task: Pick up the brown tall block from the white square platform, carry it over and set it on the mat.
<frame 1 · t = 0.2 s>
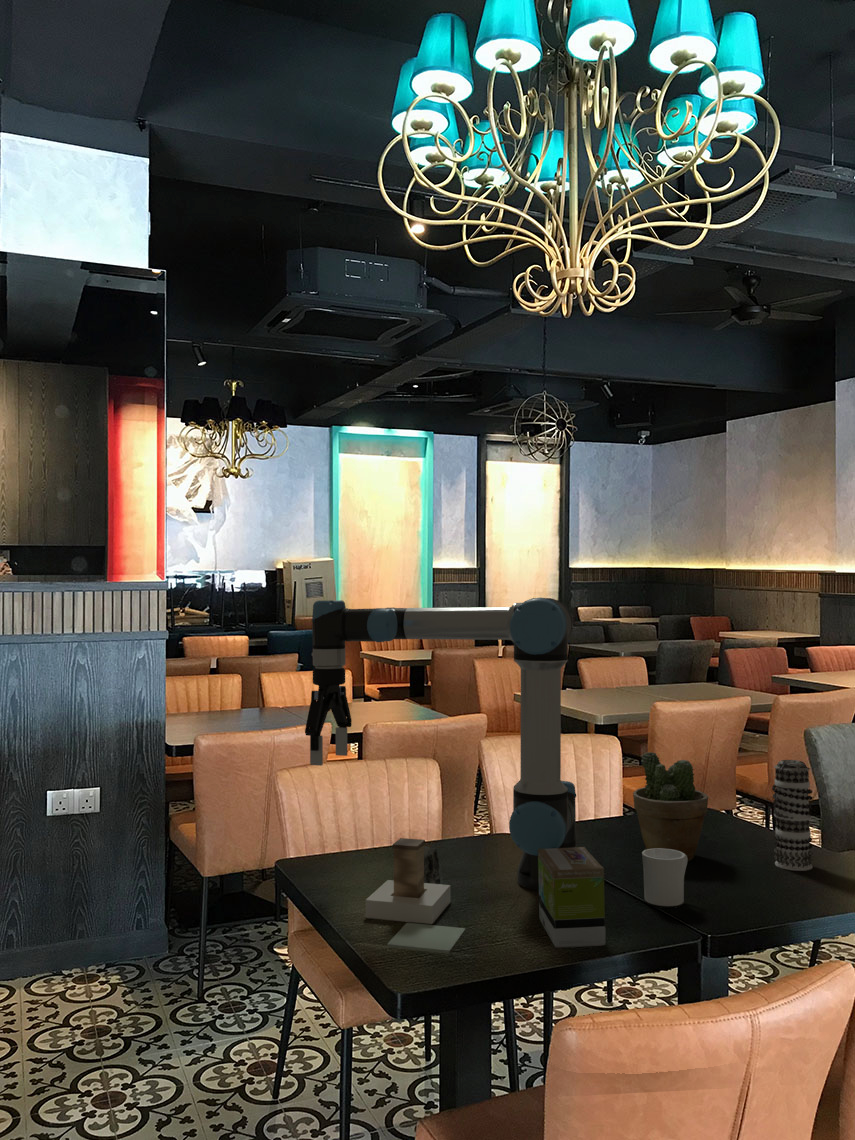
hand: (329, 760, 215), 28 cm above the table, fingers open, 13 cm apart
stone: (426, 887, 211), on the table
mat: (427, 939, 178), on the table
brown tall block: (409, 909, 194), resting on white square platform
mug: (667, 903, 199), on the table
potted plant: (671, 856, 235), on the table
decorative candle: (793, 866, 226), on the table
tea box: (570, 934, 181), on the table
white square platform: (409, 911, 194), on the table
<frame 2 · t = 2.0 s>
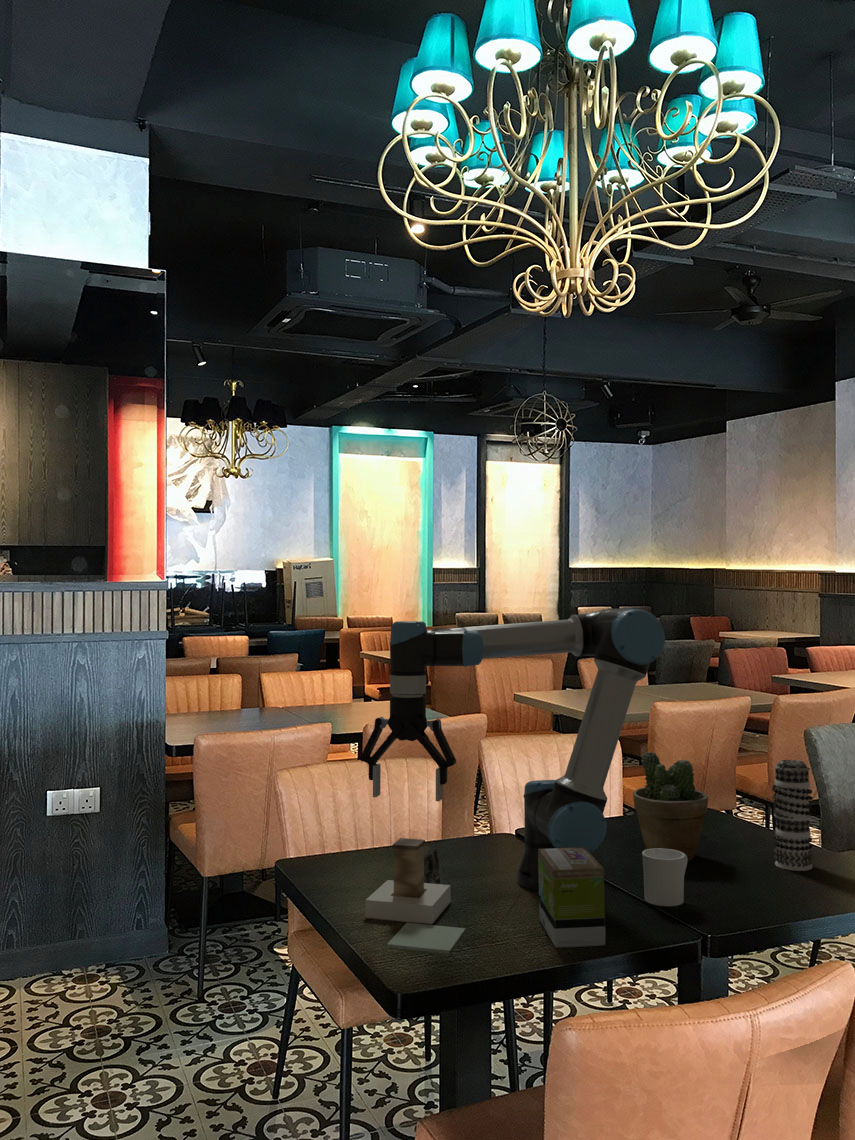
hand: (407, 798, 195), 23 cm above the table, fingers open, 13 cm apart
nothing on the table moved.
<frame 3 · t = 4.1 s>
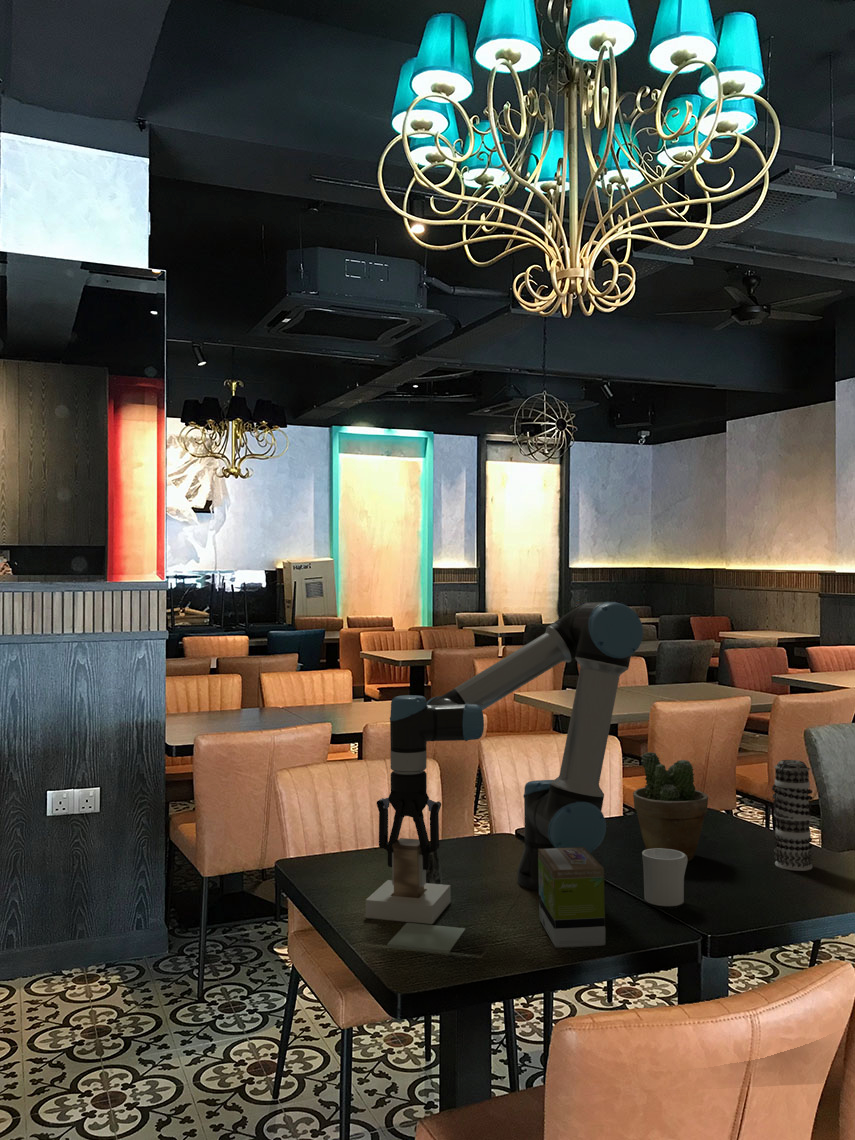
hand: (409, 883, 194), 6 cm above the table, fingers closed on brown tall block, 5 cm apart
brown tall block: (409, 909, 194), resting on white square platform, touching gripper
everything else where it was.
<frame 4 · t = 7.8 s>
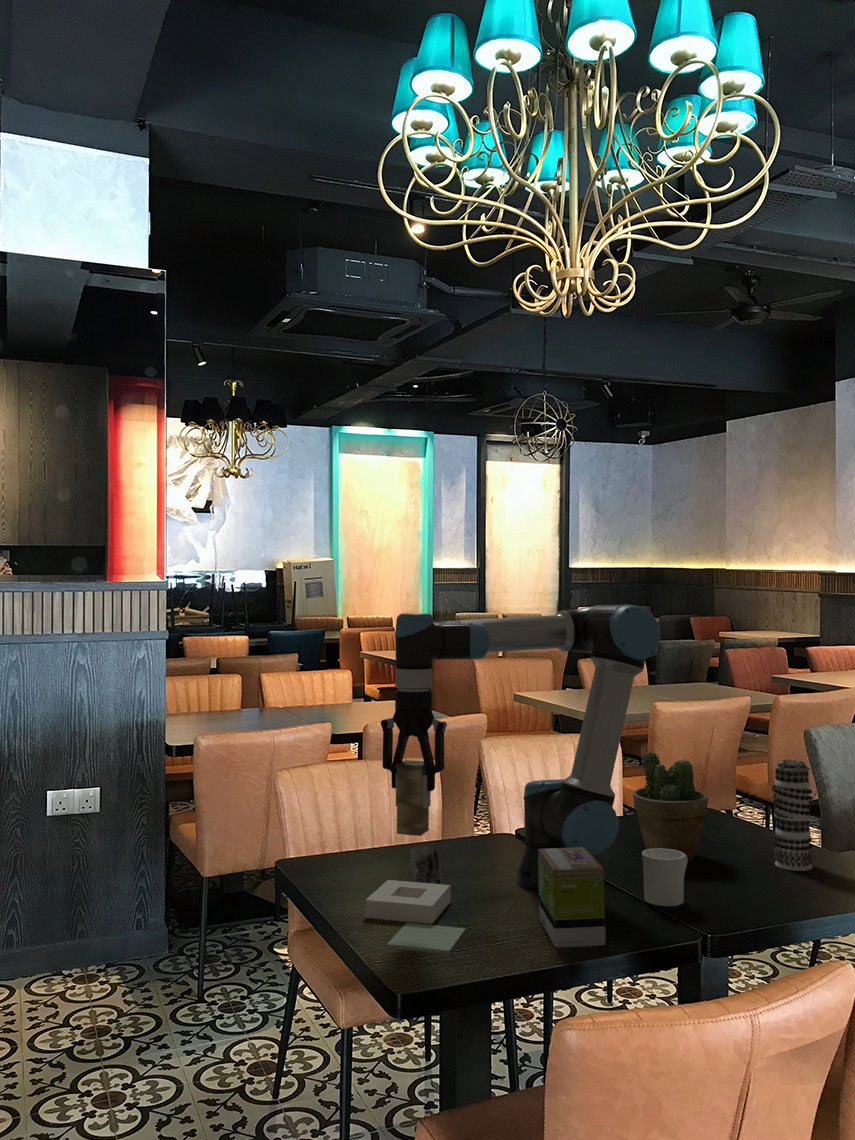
hand: (413, 805, 188), 23 cm above the table, fingers closed on brown tall block, 5 cm apart
brown tall block: (412, 832, 188), point 18 cm above the table, touching gripper
everything else where it was.
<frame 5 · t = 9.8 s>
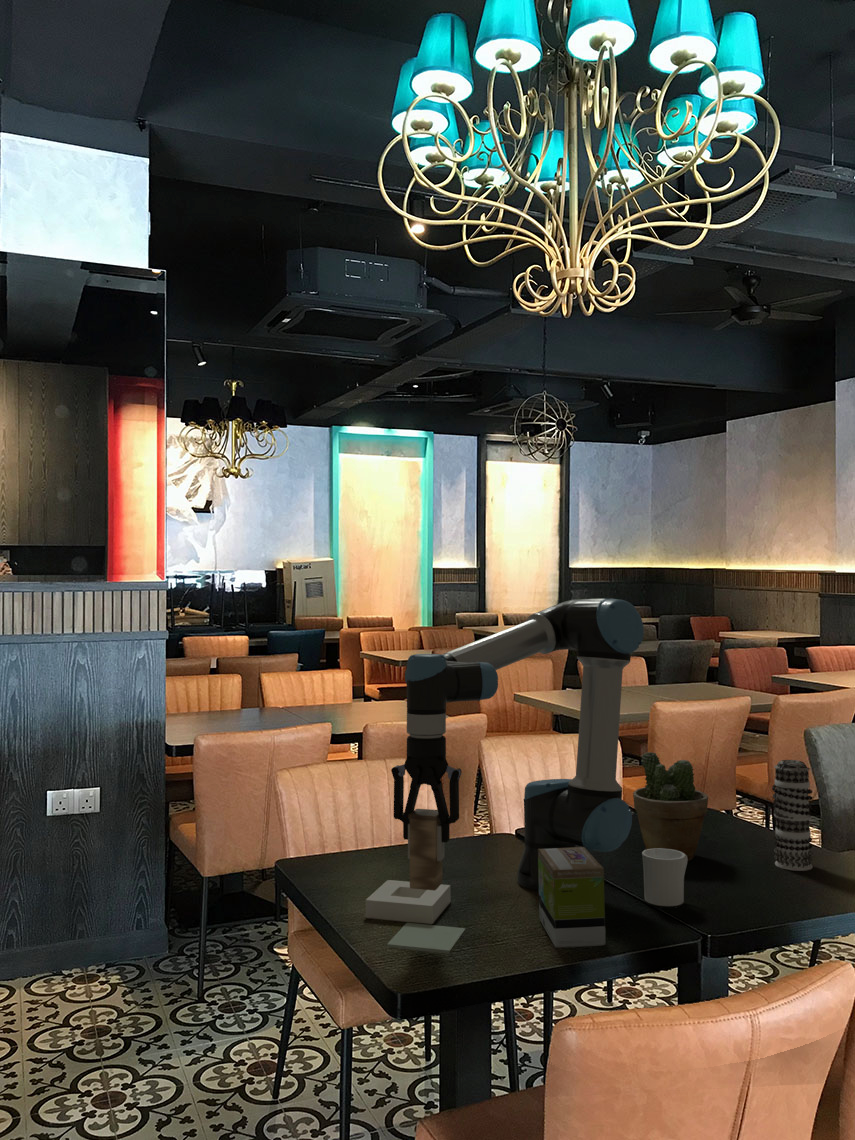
hand: (426, 857, 179), 15 cm above the table, fingers closed on brown tall block, 5 cm apart
brown tall block: (426, 885, 178), point 10 cm above the table, touching gripper
everything else where it was.
when the fingers open (7 cm above the table, at t = 11.5 s): brown tall block drops 1 cm, resting on mat.
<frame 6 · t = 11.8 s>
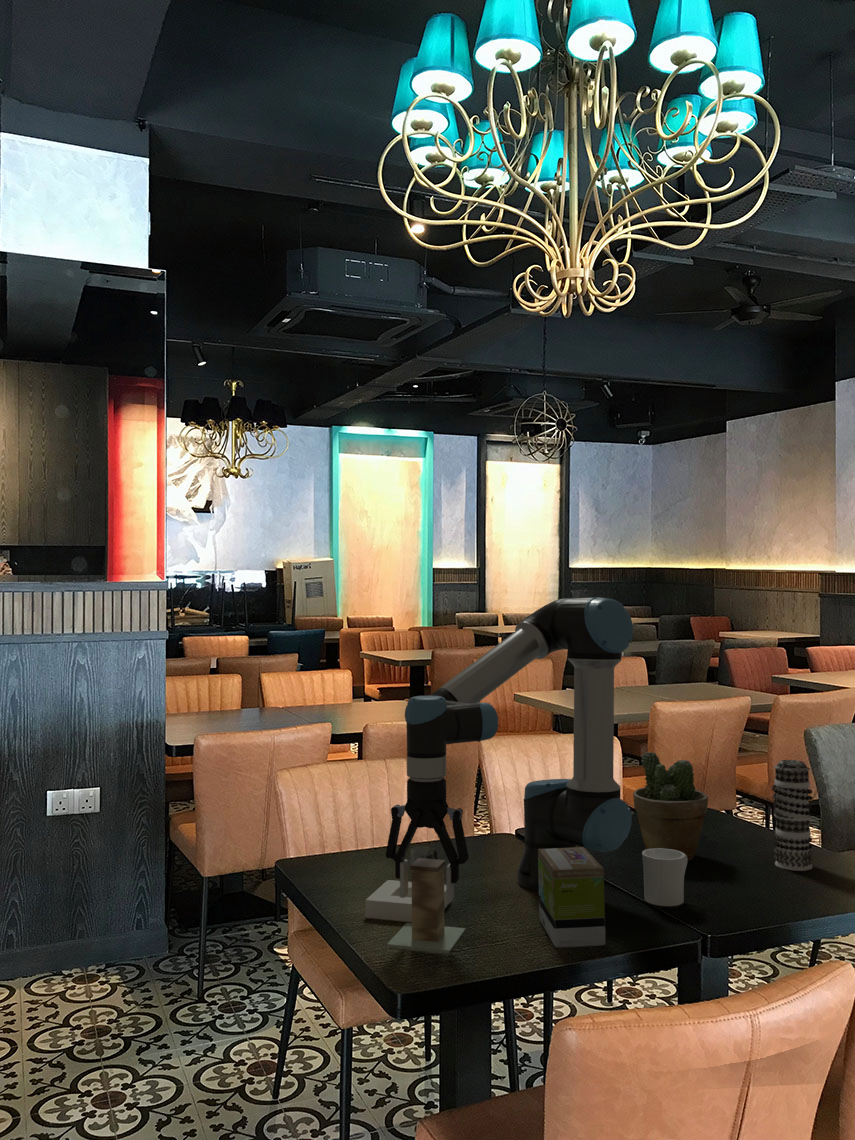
hand: (427, 897, 178), 8 cm above the table, fingers open, 8 cm apart
brown tall block: (428, 936, 178), point 1 cm above the table, touching mat
everything else where it was.
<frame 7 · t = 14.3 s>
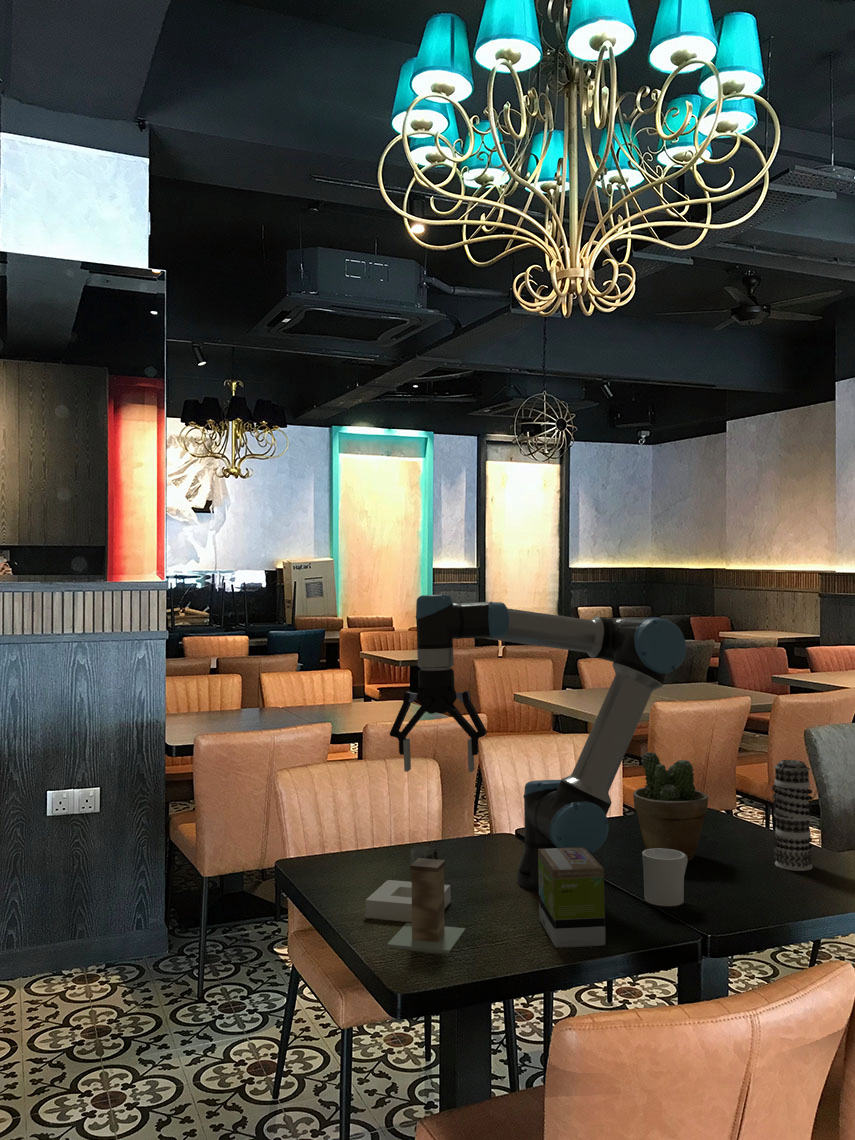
hand: (439, 770, 195), 29 cm above the table, fingers open, 13 cm apart
nothing on the table moved.
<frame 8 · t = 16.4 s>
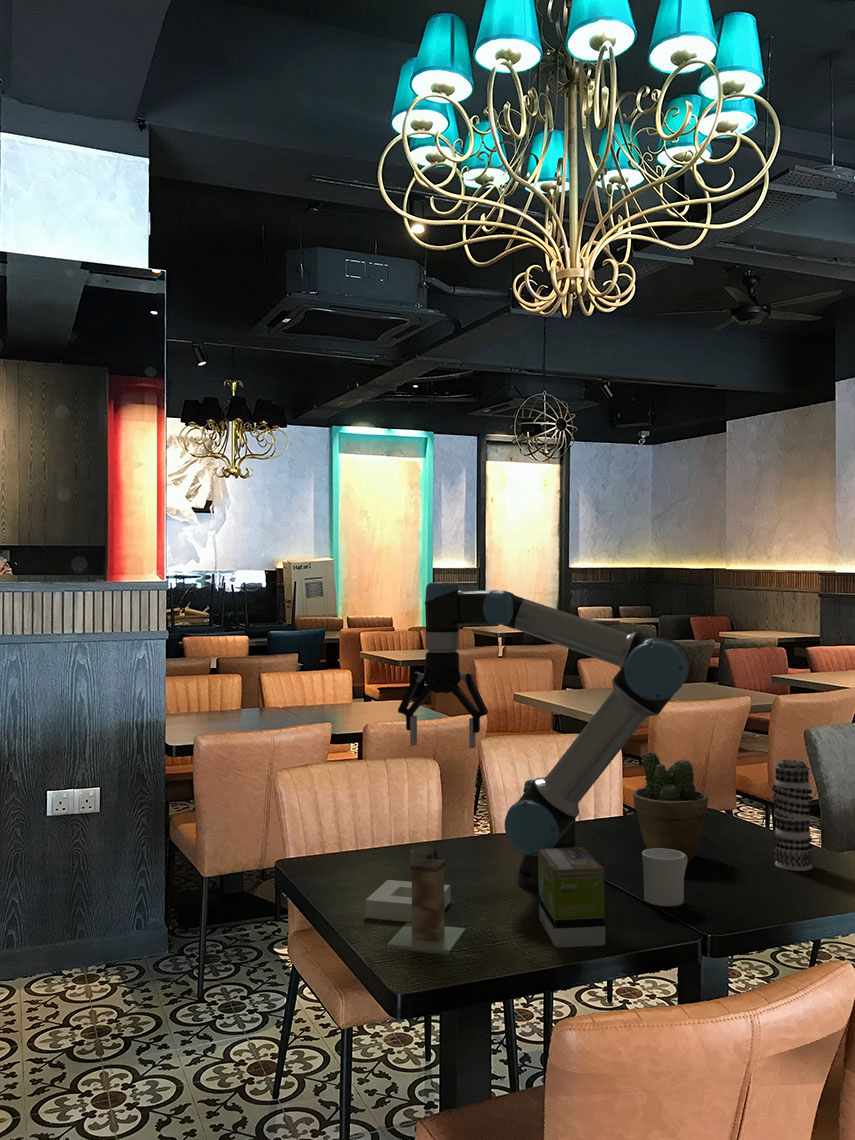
hand: (442, 746, 209), 32 cm above the table, fingers open, 13 cm apart
nothing on the table moved.
at the end: brown tall block inside the target area on the mat (0.2 cm from its centre), point 0.6 cm above the mat's base; brown tall block tilted 0°; brown tall block touching mat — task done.
